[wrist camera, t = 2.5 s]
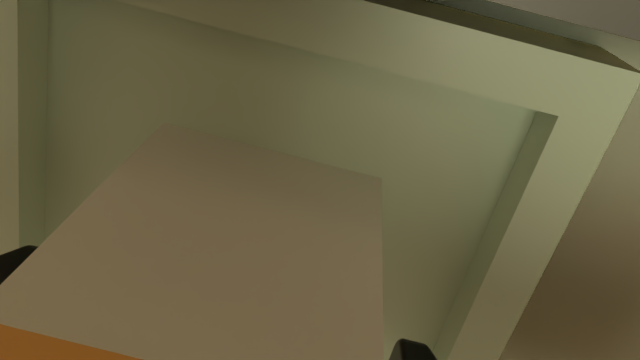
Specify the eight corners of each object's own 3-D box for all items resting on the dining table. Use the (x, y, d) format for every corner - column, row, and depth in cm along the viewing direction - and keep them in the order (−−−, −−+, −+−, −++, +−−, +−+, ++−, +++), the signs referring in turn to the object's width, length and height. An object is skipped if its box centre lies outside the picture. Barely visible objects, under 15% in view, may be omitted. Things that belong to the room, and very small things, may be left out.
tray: (418, 436, 13) (424, 504, 11) (25, 339, 12) (-20, 395, 11) (600, 46, 9) (645, 75, 7) (26, -105, 8) (-47, -108, 7)
